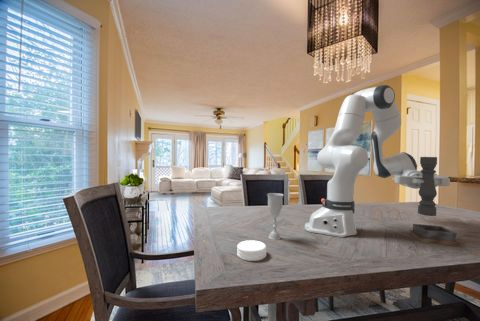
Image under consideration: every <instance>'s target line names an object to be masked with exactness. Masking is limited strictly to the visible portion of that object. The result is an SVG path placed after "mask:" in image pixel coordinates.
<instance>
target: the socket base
mask: <svg viewBox="0 0 480 321" xmlns="http://www.w3.org/2000/svg"><path fill="white" fill-rule="evenodd" d="M409 234H410V235H412V236H413V237H414V238H416V239H417V240H418V241H420V242H421V243H425V244H432V243H433V245H444V246H453V247H461V242H460V241H458V240H457V233H455V232H454V231H452V230H450V229H448V228H446V227H445V226H442V225H432V224H418V223H412V229H410V230H409Z"/></svg>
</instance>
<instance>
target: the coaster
mask: <svg viewBox="0 0 480 321" xmlns="http://www.w3.org/2000/svg"><path fill="white" fill-rule="evenodd" d="M236 248H237V249H236V252H237V257H238V258H239V259H241V260H244V261H249V262H257V261H258V262H259V261H261V260H264V259H265V258H266V257H267V245H266V244H265V243H264V242H262V241H260V240H253V239H251V240H250V239H248V240H243V241H240V242H239V243H238V244H237V245H236Z"/></svg>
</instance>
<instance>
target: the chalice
mask: <svg viewBox="0 0 480 321" xmlns="http://www.w3.org/2000/svg"><path fill="white" fill-rule="evenodd" d="M266 196H267V206H268V211H269V213H270V215H271V216H272V218H273V220H272V222H273V225H272V227H273V229H272V230H271V232H269V235H268V239H270V240H272V241H273V240H274V241H277V240H281V239H282V238H281V235H280V232H279V231H277V227H278V225H277V217H279V215H280V213H281V212H282V209H283V197H284V194H283V193H277V192H269V193H266Z"/></svg>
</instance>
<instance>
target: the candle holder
mask: <svg viewBox="0 0 480 321" xmlns="http://www.w3.org/2000/svg"><path fill="white" fill-rule="evenodd" d="M419 165H420V167H421V168H422V169H421V170H420V171H421V173H422V180H424V181H423V182H424V183H423V184H421V186H420V188H418V195H419V196H420V199H421V200H420V201H418V205H417V214H419V215H423V216H426V217H427V216H428V217H436V216H437V207H436V205H437V203H436V202H435V198H436V197H437V196H438V193H437V188H436V187H435V184H434V174H437V171H436V170H435V169H436V167H437V165H438V156H420V157H419Z"/></svg>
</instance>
